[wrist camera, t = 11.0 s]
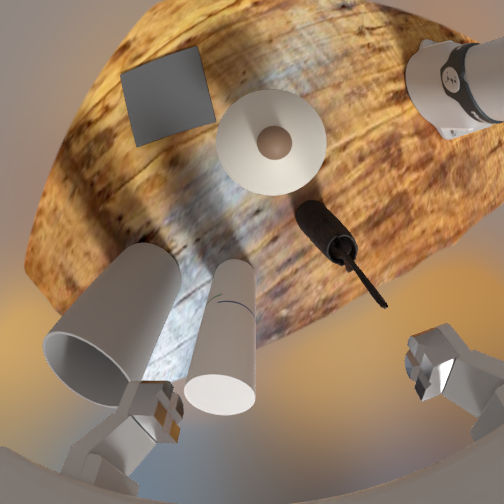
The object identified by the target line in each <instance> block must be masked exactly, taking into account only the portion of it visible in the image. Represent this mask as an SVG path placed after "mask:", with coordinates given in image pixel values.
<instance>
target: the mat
mask: <svg viewBox="0 0 504 504" xmlns="http://www.w3.org/2000/svg"><path fill="white" fill-rule="evenodd" d="M120 77H121V83H122V87H123V92H124V97H125V101H126V106H127V110H128V115H129V119H130V123H131V127H132V131H133V135H134V139H135V143H136V147H139V146H142V145H145V144H147V143H150V142H153V141H156V140H159V139H162V138H164V137H167V136H170V135H173V134H177V133H180V132H183V131H186V130H189V129H193V128H196V127H200V126H203V125H207V124H210V123H214V122H216V118H215V114H214V110H213V106H212V102H211V98H210V94H209V90H208V86H207V82H206V78H205V74H204V70H203V66H202V62H201V58H200V54H199V50H198V47H197V46H195V47H192V48H189V49H185V50H182V51H179V52H176V53H173V54H171V55H168V56H165V57H162V58H160V59H157V60H154V61H152V62H149V63H147V64H144V65H142V66H140V67H137V68H135V69H133V70H130V71H128V72H126V73H124V74H122V75H120Z"/></svg>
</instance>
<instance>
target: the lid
mask: <svg viewBox="0 0 504 504" xmlns="http://www.w3.org/2000/svg"><path fill="white" fill-rule="evenodd" d="M216 146H217V153H218V157H219V160H220V162H221V164H222V166H223V168H224V170H225V171H226V173H227V174H228V175H229V176H230V177H231V179H232V180H234V181H235V182H236V183H237V184H238V185H240V186H241V187H243V188H245V189H247V190H249V191H251V192H254V193H257V194H262V195H283V194H287V193H290V192H293V191H295V190H297V189H299V188H301V187H303V186H304V185H305V184H307V183H308V182H309V181H310V180H311V179H312V178H313V177H314V176H315V175H316V173H317V172H318V170H319V169H320V167H321V165H322V163H323V160H324V157H325V153H326V133H325V129H324V126H323V123H322V121H321V119H320V117H319V115H318V114H317V112H316V111H315V110H314V109H313V107H312V106H311V105H310V104H308V103H307V102H306V101H305V100H303V99H302V98H300V97H299V96H297V95H295V94H292V93H290V92H287V91H283V90H276V89H265V90H259V91H255V92H252V93H249V94H247V95H245V96H243V97H241V98H240V99H238V100H237V101H236V102H234V103H233V104H232V105H231V106H230V107H229V108H228V110H227V111H226V112H225V114H224V115H223V117H222V119H221V121H220V124H219V127H218V131H217V137H216Z"/></svg>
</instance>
